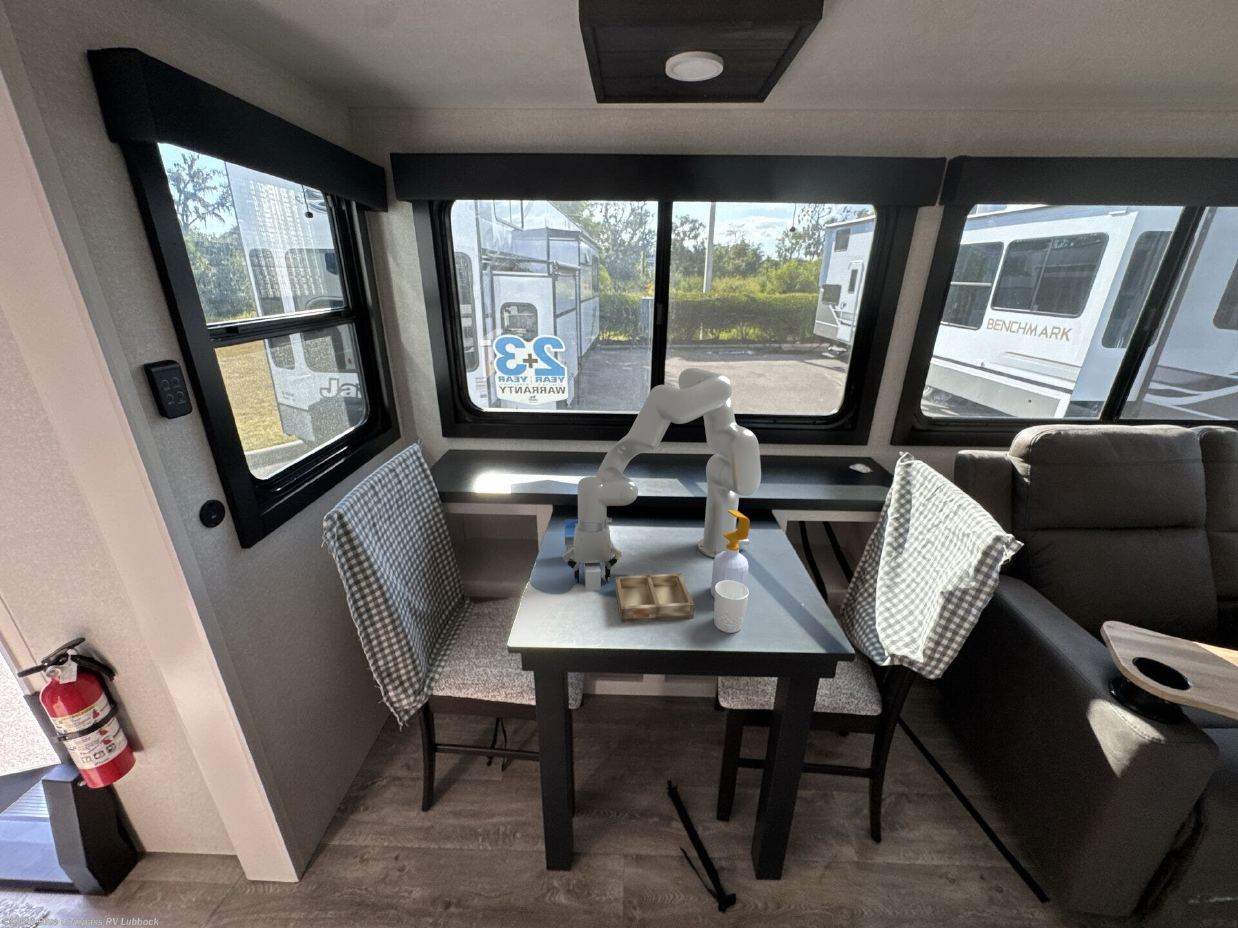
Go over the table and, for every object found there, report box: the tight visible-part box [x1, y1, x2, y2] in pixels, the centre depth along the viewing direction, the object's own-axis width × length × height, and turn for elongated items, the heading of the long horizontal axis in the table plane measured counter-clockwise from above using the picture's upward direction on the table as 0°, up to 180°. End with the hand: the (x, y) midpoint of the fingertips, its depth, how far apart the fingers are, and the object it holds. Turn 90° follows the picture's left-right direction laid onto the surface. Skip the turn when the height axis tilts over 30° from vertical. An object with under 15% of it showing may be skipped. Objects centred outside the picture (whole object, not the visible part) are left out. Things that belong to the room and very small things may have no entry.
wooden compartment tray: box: [614, 573, 695, 624], centre depth 123 cm, size 18×15×4 cm
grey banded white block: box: [583, 562, 602, 592], centre depth 131 cm, size 4×8×6 cm, turn 7°
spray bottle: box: [710, 510, 751, 599], centre depth 124 cm, size 9×9×25 cm
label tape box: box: [564, 519, 578, 561], centre depth 142 cm, size 9×4×12 cm, turn 94°
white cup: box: [713, 580, 750, 634], centre depth 115 cm, size 8×8×10 cm
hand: (592, 579), depth 132 cm, fingers open, 7 cm apart
